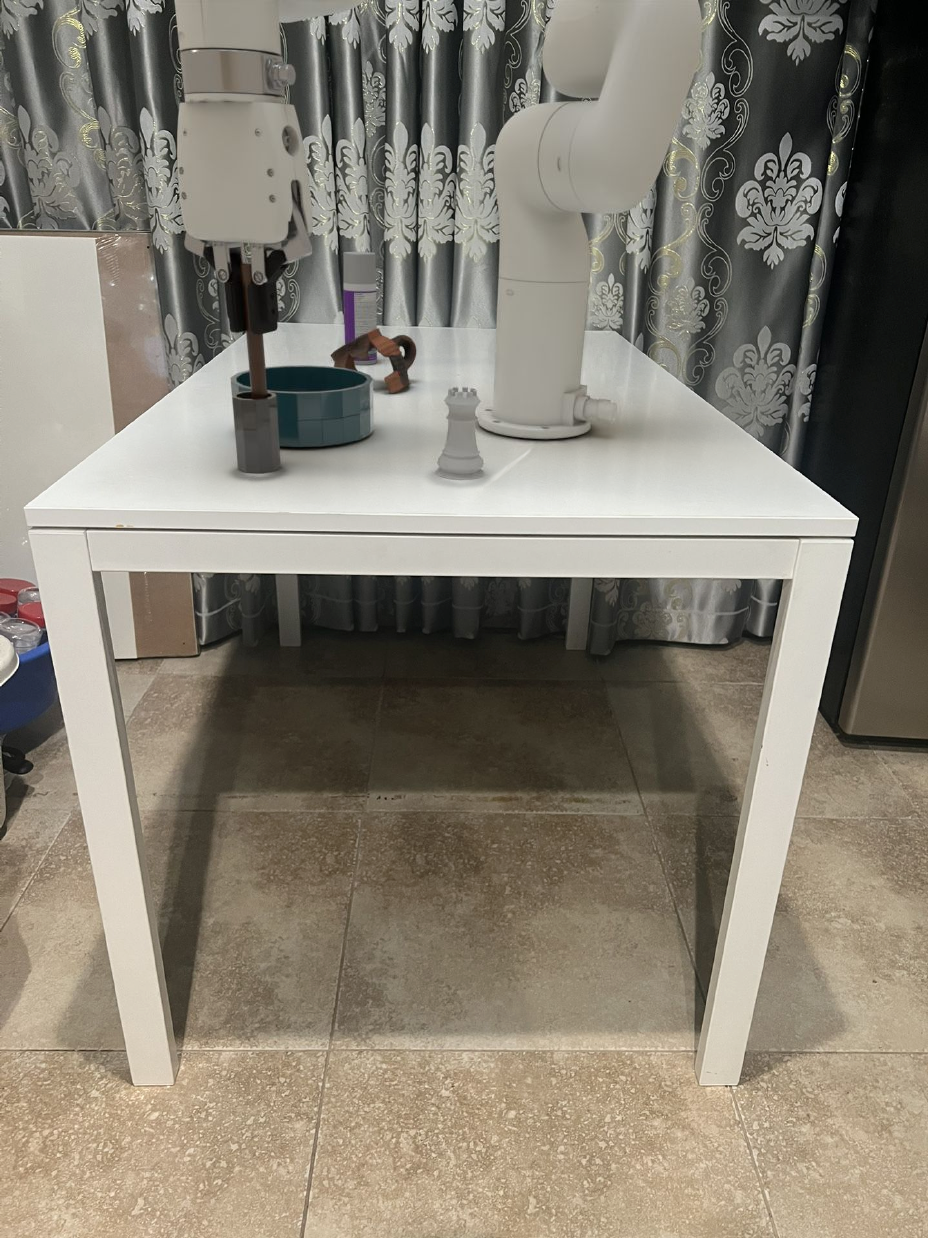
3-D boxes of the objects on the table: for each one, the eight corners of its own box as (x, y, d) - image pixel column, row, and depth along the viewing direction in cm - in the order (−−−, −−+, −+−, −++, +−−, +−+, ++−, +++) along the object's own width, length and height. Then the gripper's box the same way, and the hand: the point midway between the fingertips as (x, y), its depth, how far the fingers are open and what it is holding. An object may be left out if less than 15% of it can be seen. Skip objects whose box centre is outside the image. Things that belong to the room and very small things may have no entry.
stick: (275, 450, 83) (260, 262, 76) (266, 454, 82) (251, 264, 74) (262, 448, 83) (246, 262, 76) (253, 452, 82) (236, 263, 75)
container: (342, 359, 135) (339, 251, 129) (372, 358, 137) (370, 251, 130) (349, 365, 131) (347, 253, 125) (380, 364, 133) (379, 254, 126)
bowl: (395, 429, 98) (395, 373, 96) (331, 462, 87) (328, 399, 84) (283, 414, 103) (280, 360, 100) (206, 443, 91) (201, 383, 89)
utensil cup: (289, 469, 84) (284, 393, 81) (265, 480, 81) (259, 401, 78) (254, 464, 85) (248, 388, 82) (229, 475, 82) (222, 397, 79)
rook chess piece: (447, 486, 81) (449, 396, 77) (428, 472, 84) (429, 385, 81) (492, 482, 82) (496, 393, 79) (472, 468, 86) (475, 383, 82)
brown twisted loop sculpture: (380, 402, 112) (347, 340, 110) (343, 421, 120) (311, 364, 118) (444, 365, 119) (414, 307, 117) (404, 386, 126) (375, 331, 124)
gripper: (346, 85, 70) (355, 332, 78) (180, 88, 75) (205, 319, 83) (295, 76, 64) (310, 345, 72) (118, 80, 69) (151, 330, 77)
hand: (254, 329), depth 78 cm, fingers closed on stick, 1 cm apart
